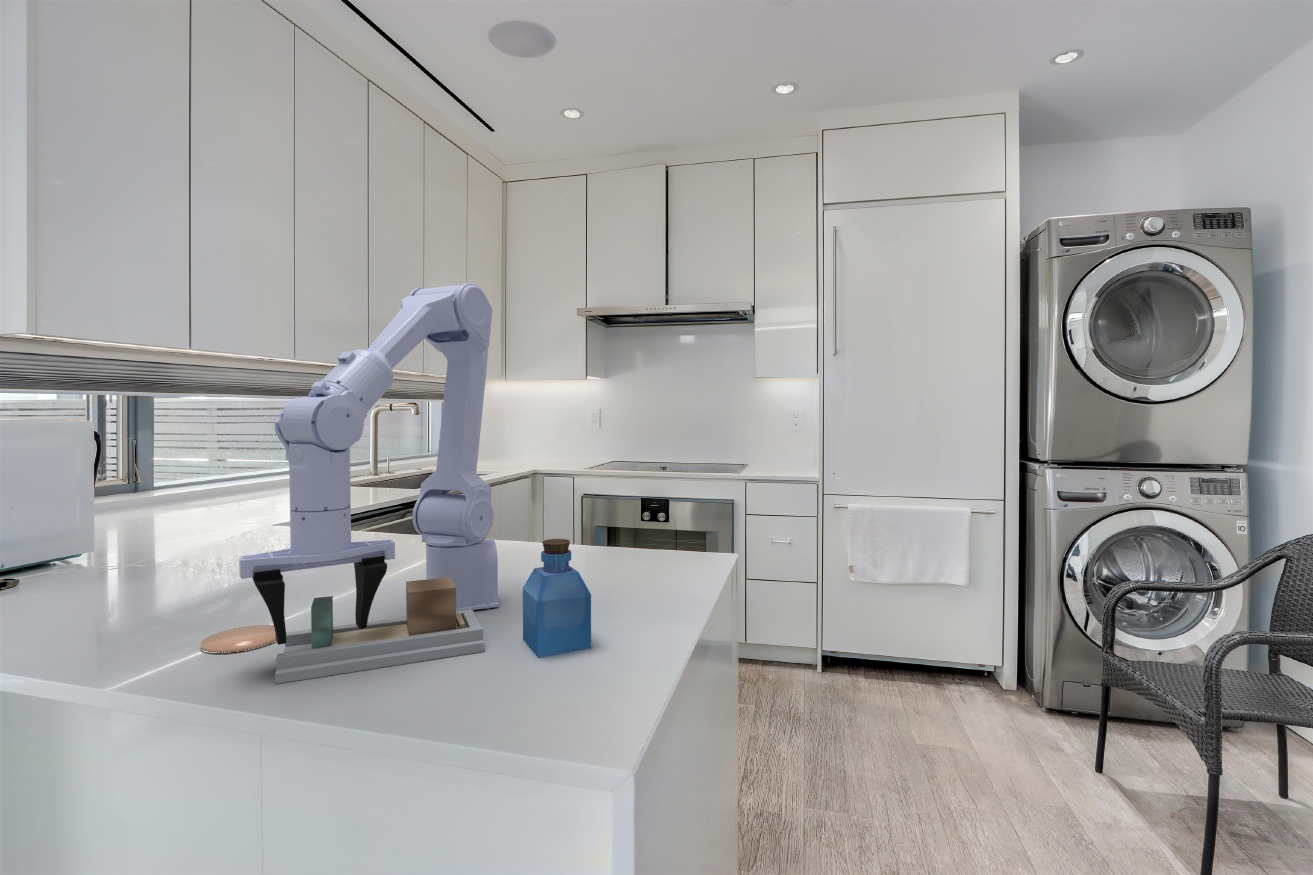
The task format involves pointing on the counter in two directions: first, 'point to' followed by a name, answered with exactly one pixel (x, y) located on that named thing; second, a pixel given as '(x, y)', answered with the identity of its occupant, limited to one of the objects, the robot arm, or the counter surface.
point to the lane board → (374, 650)
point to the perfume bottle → (556, 604)
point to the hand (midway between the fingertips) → (322, 633)
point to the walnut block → (430, 606)
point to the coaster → (239, 639)
